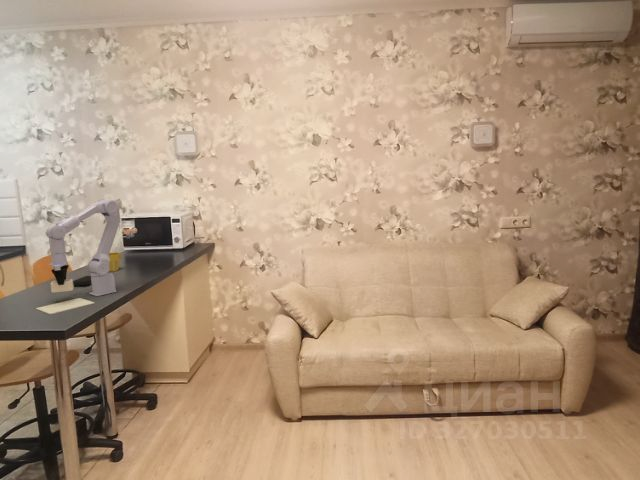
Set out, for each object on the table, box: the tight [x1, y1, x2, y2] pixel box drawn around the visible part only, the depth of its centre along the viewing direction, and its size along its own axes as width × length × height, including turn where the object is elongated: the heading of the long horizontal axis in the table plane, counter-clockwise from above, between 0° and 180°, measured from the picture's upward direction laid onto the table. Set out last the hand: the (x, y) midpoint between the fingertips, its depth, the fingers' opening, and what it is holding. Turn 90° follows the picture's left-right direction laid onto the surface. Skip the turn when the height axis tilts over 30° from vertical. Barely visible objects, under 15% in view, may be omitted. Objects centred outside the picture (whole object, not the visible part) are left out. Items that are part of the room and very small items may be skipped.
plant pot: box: [108, 251, 122, 273], centre depth 267 cm, size 10×10×10 cm
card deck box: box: [50, 278, 75, 293], centre depth 204 cm, size 8×5×4 cm, turn 112°
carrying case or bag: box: [73, 275, 92, 288], centre depth 238 cm, size 11×3×15 cm
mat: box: [35, 297, 95, 316], centre depth 198 cm, size 18×14×1 cm
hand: (62, 283), depth 204 cm, fingers closed on card deck box, 5 cm apart
